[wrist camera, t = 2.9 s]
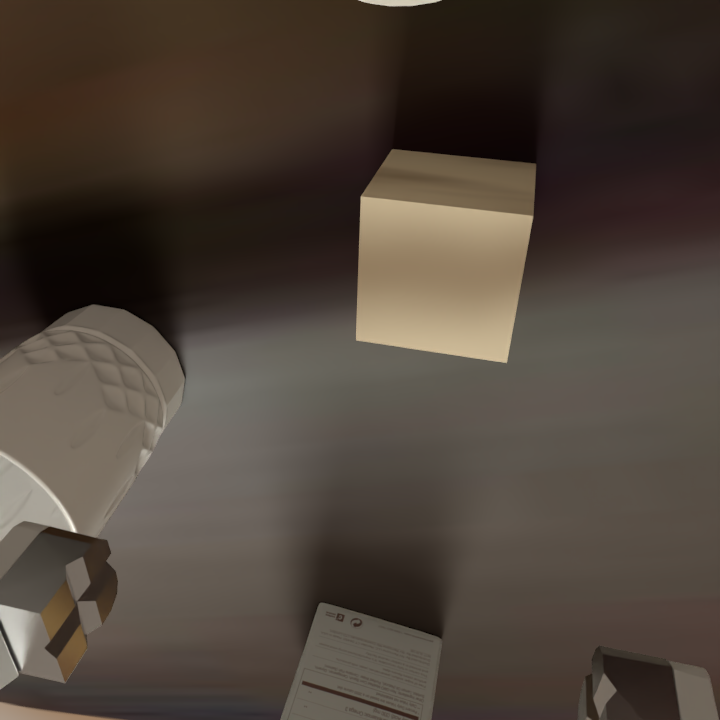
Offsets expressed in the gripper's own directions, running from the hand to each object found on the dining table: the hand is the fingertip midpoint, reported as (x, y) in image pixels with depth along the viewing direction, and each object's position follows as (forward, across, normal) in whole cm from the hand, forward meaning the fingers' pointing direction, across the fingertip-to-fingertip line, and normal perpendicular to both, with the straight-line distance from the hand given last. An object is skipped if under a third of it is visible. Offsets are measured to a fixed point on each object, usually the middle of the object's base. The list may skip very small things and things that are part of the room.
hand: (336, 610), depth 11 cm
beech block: (+17, 0, 0) cm, 17 cm away
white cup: (+17, +15, +9) cm, 25 cm away
